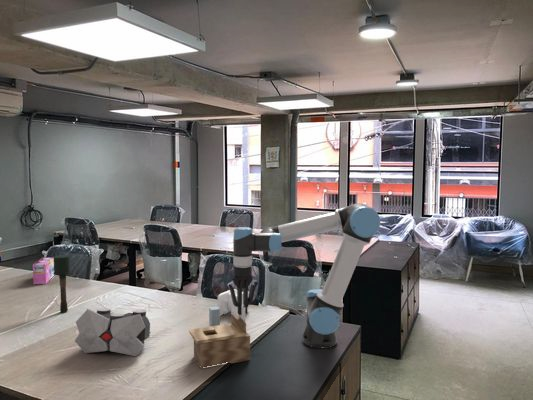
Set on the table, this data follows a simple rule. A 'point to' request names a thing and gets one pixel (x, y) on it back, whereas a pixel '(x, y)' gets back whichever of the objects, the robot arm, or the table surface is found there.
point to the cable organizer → (228, 303)
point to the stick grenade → (62, 277)
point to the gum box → (43, 270)
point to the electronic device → (113, 331)
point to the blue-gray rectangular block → (214, 316)
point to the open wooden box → (222, 351)
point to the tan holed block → (220, 331)
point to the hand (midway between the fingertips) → (242, 321)
